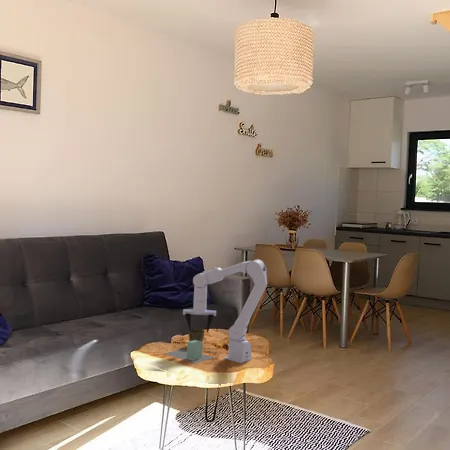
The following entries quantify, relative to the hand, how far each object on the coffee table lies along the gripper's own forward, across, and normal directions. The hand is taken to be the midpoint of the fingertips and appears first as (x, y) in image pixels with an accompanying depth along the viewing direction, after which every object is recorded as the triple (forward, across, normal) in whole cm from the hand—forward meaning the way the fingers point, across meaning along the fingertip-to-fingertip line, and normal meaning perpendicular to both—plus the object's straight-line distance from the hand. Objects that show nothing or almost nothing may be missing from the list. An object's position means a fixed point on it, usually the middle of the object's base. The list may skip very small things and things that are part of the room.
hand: (198, 331), depth 239 cm
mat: (+10, +4, +4) cm, 12 cm away
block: (+10, +1, +8) cm, 13 cm away
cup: (+10, +2, -11) cm, 15 cm away
